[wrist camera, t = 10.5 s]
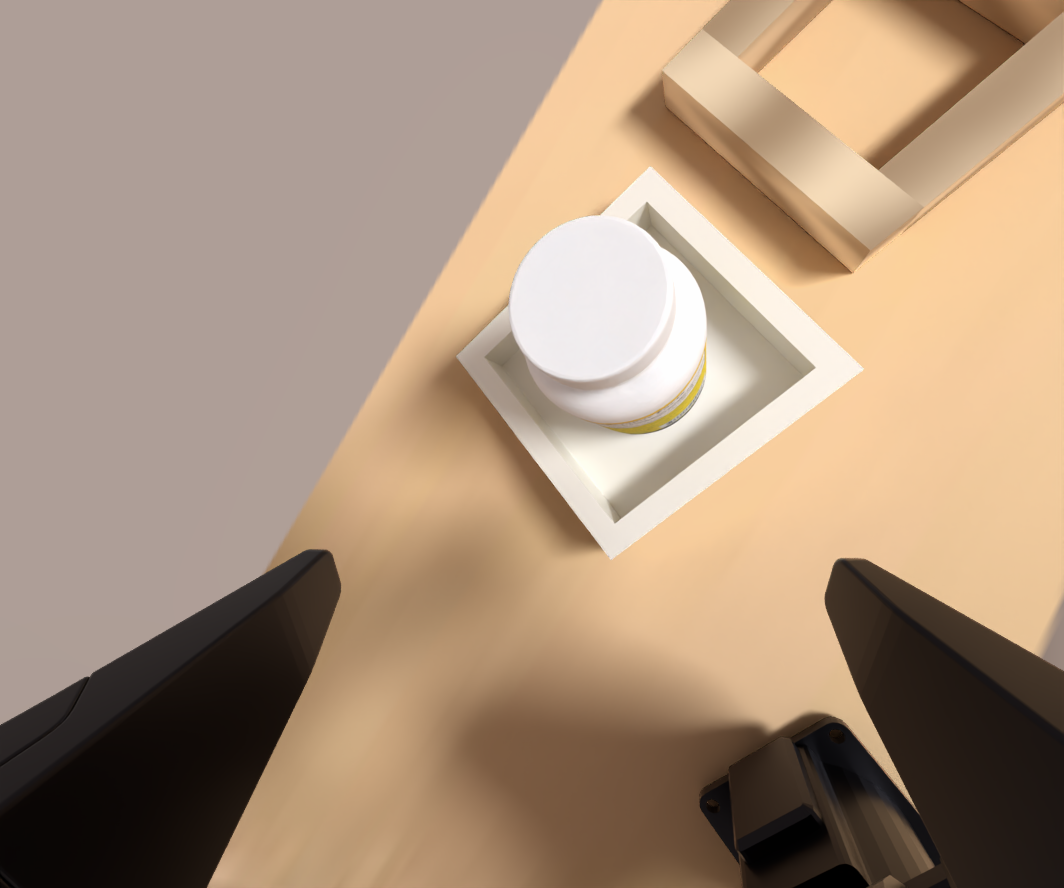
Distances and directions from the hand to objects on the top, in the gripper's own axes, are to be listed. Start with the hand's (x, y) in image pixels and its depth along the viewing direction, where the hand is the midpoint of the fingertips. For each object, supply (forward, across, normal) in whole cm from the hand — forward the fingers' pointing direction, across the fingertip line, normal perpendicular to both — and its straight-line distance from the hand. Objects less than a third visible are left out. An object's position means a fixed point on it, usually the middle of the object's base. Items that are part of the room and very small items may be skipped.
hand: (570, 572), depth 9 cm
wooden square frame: (+17, -12, -10) cm, 23 cm away
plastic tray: (+14, -3, +1) cm, 14 cm away
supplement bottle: (+13, -3, +1) cm, 14 cm away
